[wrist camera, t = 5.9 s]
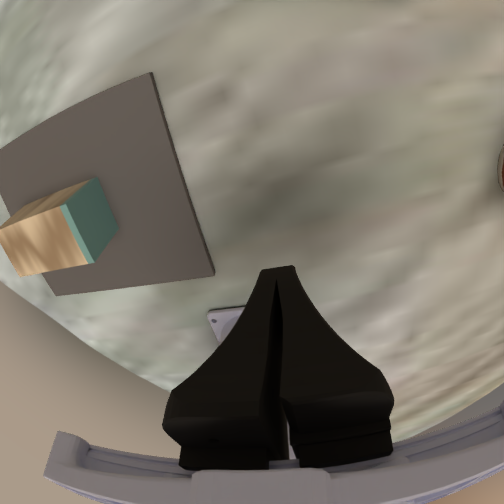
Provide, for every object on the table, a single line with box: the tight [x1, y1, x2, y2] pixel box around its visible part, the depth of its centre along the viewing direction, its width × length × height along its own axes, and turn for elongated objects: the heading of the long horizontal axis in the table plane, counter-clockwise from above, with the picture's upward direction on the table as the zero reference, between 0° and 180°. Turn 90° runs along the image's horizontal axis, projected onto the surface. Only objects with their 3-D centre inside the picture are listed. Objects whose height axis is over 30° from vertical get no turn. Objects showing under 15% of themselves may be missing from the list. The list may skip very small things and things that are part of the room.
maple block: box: [0, 177, 119, 277], centre depth 20 cm, size 4×4×9 cm
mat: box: [0, 72, 215, 296], centre depth 22 cm, size 16×18×1 cm
